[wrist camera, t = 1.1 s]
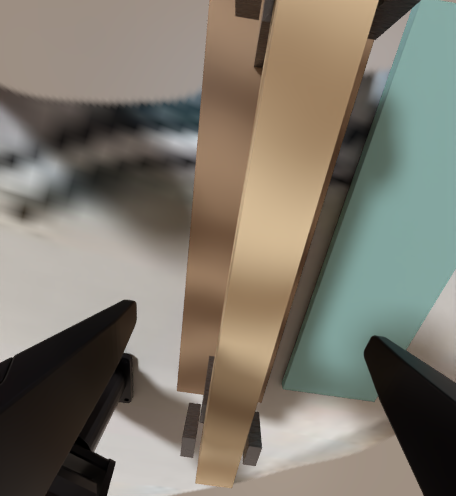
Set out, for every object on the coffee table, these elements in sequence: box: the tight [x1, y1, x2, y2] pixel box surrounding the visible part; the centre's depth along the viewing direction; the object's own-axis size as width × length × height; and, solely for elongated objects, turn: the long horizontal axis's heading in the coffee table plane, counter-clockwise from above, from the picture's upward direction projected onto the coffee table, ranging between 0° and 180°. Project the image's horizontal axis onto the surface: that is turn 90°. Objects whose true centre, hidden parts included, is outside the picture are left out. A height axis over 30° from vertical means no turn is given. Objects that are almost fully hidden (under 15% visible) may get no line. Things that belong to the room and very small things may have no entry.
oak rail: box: [195, 0, 379, 488], centre depth 10 cm, size 28×2×2 cm, turn 172°
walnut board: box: [177, 0, 374, 403], centre depth 16 cm, size 30×8×2 cm, turn 172°
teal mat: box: [282, 0, 456, 402], centre depth 16 cm, size 28×9×1 cm, turn 172°
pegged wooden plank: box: [180, 0, 421, 466], centre depth 12 cm, size 24×5×6 cm, turn 172°
